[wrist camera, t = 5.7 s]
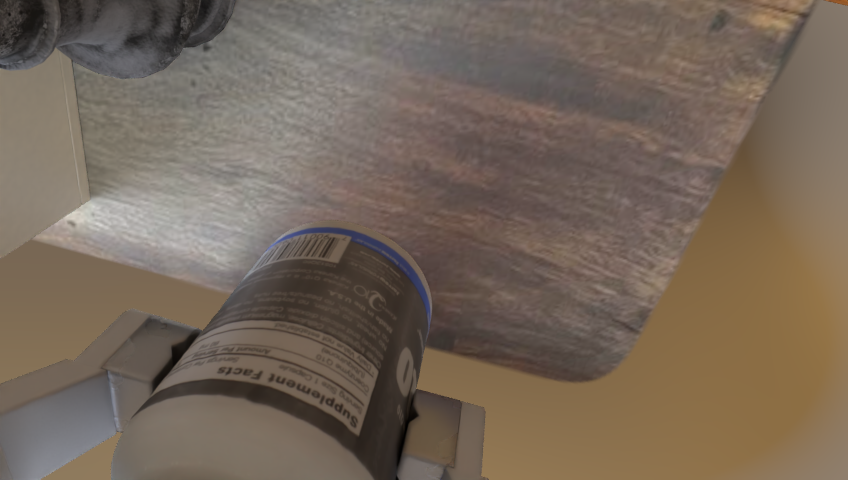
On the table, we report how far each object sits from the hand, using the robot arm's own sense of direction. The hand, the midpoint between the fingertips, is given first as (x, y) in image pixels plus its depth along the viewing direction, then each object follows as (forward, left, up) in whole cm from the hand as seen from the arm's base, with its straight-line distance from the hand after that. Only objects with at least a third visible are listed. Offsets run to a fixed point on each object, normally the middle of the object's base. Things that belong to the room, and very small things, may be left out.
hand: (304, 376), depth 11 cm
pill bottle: (0, 0, -3) cm, 3 cm away
